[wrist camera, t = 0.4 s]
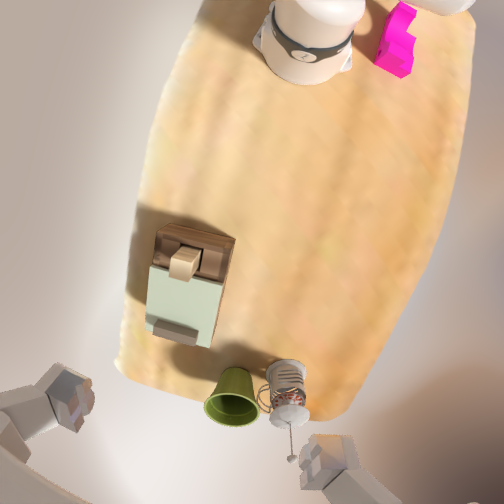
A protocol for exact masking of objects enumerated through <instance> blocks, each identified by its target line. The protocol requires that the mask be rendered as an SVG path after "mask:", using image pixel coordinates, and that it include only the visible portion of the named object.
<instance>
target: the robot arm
mask: <svg viewBox="0 0 504 504" xmlns="http://www.w3.org/2000/svg"><path fill="white" fill-rule="evenodd" d="M399 1H402V2H405V3H408V4H411V5H414V6H416V7H419V8H422V9H425V10H428V11H430V12H433V13H436V14H438V15H441V16H448V15H454V14H458V13H460V12H463V11H464V10H466V9H468V8H469V7H470V6H471V5H472V4H473V3H474V2H475V1H476V0H399ZM365 6H366V4H365V0H275V2H274V1H272V2H271V4H270V6H269V11H270V13H269V14H268V15H266V16H265V19H264V22H263V24H262V25H261V27H260V28H259V30H258V32H257V33H256V35H255V37H254V38H253V42H252V43H253V46H254V47H255V48H256V49H257V50H259V51H260V52H261V53H262V54H263V56H264V58H265V60H266V62H267V64H268V66H269V67H270V68H271V70H272V71H273V72H274V73H275V74H277V75H278V76H279V77H281V78H283V79H284V80H286V81H289V82H291V83H295V84H299V85H315V84H319V83H322V82H325V81H327V80H328V79H330V78H331V77H333V76H334V75H335V74H337V73H342V72H346V71H349V70H350V69H351V67H352V49H351V38H352V35H353V32H354V28H355V26H356V25H357V23H358V22H359V20H360V19H361V17H362V16H363V14H364V11H365ZM260 37H261V38H260ZM91 386H92V381H91V379H90V378H88V377H86V376H84V375H82V374H80V373H78V372H76V371H74V370H72V369H70V368H68V367H66V366H64V365H62V364H60V363H58V362H57V363H55V364H54V365H53V366H52V367H51V368H50V369H49V370H48V371H47V372H46V373H45V374H44V375H43V377H42V378H41V379H40V380H39V381H38V382H37V383H36V384H35V386H33V385H28V386H25V387H21V388H17V389H13V390H9V391H5V392H2V393H0V504H92V503H90V502H88V501H86V500H84V499H82V498H80V497H78V496H76V495H74V494H72V493H70V492H68V491H67V490H65V489H63V488H61V487H60V486H58V485H56V484H55V483H53V482H51V481H50V480H48V479H47V478H45V477H43V476H41V475H40V474H39V473H37V472H36V471H34V470H33V469H31V468H30V467H28V466H27V465H26V462H27V460H28V459H29V457H30V455H31V451H30V449H29V448H28V446H27V445H26V443H25V442H24V441H26V440H29V439H31V438H33V437H35V436H37V435H39V434H41V433H44V432H46V431H48V430H50V429H52V428H54V427H56V426H58V425H59V424H60V425H62V426H64V427H66V428H68V429H70V430H72V431H74V432H76V433H77V432H78V431H79V429H80V428H81V426H82V425H83V423H84V417H83V416H85V415H87V414H89V413H90V412H91V410H92V408H93V405H94V400H95V396H94V392H93V391H92V390H91ZM299 467H300V468H301V469H302V470H303V473H302V474H301V475H300V484H301V490H322V492H323V493H324V495H325V496H326V497H327V499H328V500H329V501H330V503H331V504H402V502H401V501H400V500H399V499H398V498H397V497H396V496H394V495H393V494H392V493H391V492H390V491H389V490H387V489H386V488H385V487H384V486H383V485H382V484H381V483H380V482H379V481H378V480H376V479H375V478H374V477H373V476H372V475H371V474H370V473H369V472H367V470H365V469H361V466H360V462H359V458H358V454H357V451H356V447H355V443H354V439H353V437H352V436H350V435H321V434H313V435H311V437H310V438H309V443H308V444H307V445H305V446H304V447H303V448H302V450H301V452H300V455H299ZM468 504H478V503H477V502H471V503H468Z"/></svg>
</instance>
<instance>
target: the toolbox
mask: <svg viewBox="0 0 504 504" xmlns="http://www.w3.org/2000/svg"><path fill="white" fill-rule="evenodd" d="M235 240H236V239H233V238H229V237H225V236H221V235H217V234H212V233H208V232H204V231H200V230H196V229H192V228H188V227H183V226H179V225H175V224H171V223H170V224H168V225H166V226H165V227H163V228H162V229H160V230H158V231H157V233H156V240H155V248H154V256H153V265H155V266H158V267H162V268H165V269H170V262H171V257H172V256H173V255H174V254H175V253H176V252H177V251H178V250H179V249H180V248H181V247H182V246H183V245H184V244H187V245H191V246H195V247H199V248H203V249H204V252H203V257H202V262H201V264H200V265H199V267H198V268H197V270H196V271H195V273H194V274H193V276H195V277H199V278H203V279H207V280H211V281H215V282H219V283H223V288H222V293H221V297H220V302H219V307H218V311H217V316H216V321H215V325H214V330H213V335H214V332H215V329H216V324H217V320H218V315H219V311H220V306H221V302H222V297H223V293H224V288H225V284H226V279H227V275H228V271H229V266H230V262H231V257H232V253H233V249H234V244H235ZM213 335H212V339H213ZM212 339H211V342H212ZM210 345H211V344H210Z"/></svg>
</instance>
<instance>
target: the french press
mask: <svg viewBox="0 0 504 504" xmlns="http://www.w3.org/2000/svg"><path fill="white" fill-rule="evenodd" d="M306 373H307V371H306V368H305V366H304V365H303V364H301V363H300V362H299V361H295V360H292V359H283V360H280V361H277V362H275V363H273V364H272V365H270V366H269V367H268V369H267V371H266V379H267V381H268V383H269V384H266V385H263V386H262V387H264V386H267V385H269V388H268V389H264V390H269V389H270V402H271V405H270V407H269V406H267V405H265V404H264V403H263V402H262V401H261V399H260V397H259V394H260V392H262V391H264V390H262V391H260V390H261V388H262V387H261V388H260V389H259V391H258V395H257V400H256V402H257V404H258V406H259V408H261V407H260V405H259V403H258V397H259V400H260V401H261V403H263V404H264V405H265V406H266V407H268V408H269V412H267V411H265V410H264V409H262V408H261V409H262V410H263V411H265V412H267V413H270V408H272V407H273V409H274V411H273V412H272V413H271V414H270V419H269V420H270V422H271V423H272V424H273V425H274V426H276V427H279V428H283V429H290V438H291V454H292V455H290V456H288V457H287V460H288V462H289V463H295V462H296V461H297V460H298V457H297V456H296V455H293V453H292V452H293V451H292V436H291V428H295V427H299V426H301V425H303V424H305V423H306V422H307V421H308V419H309V416H310V413H309V411H308V410H307V409H306V408H305V407H304V405H305V399H306V394H305V387H304V381H303V380H304V379H305V378H306ZM295 387H296V388H297V389H295V390H293V391H290V392H286V391H289V390H291V389H293V388H295ZM297 390H298V392H296V393H295V391H297ZM275 391H277V392H279V393H281V394H278V393H276V392H275ZM273 392H274V393H275V394H276V395H277V396H275V395H274V394H273ZM284 392H285V393H284ZM272 395H273V396H274V397H275V398H273V396H272ZM272 398H273V400H272Z"/></svg>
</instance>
